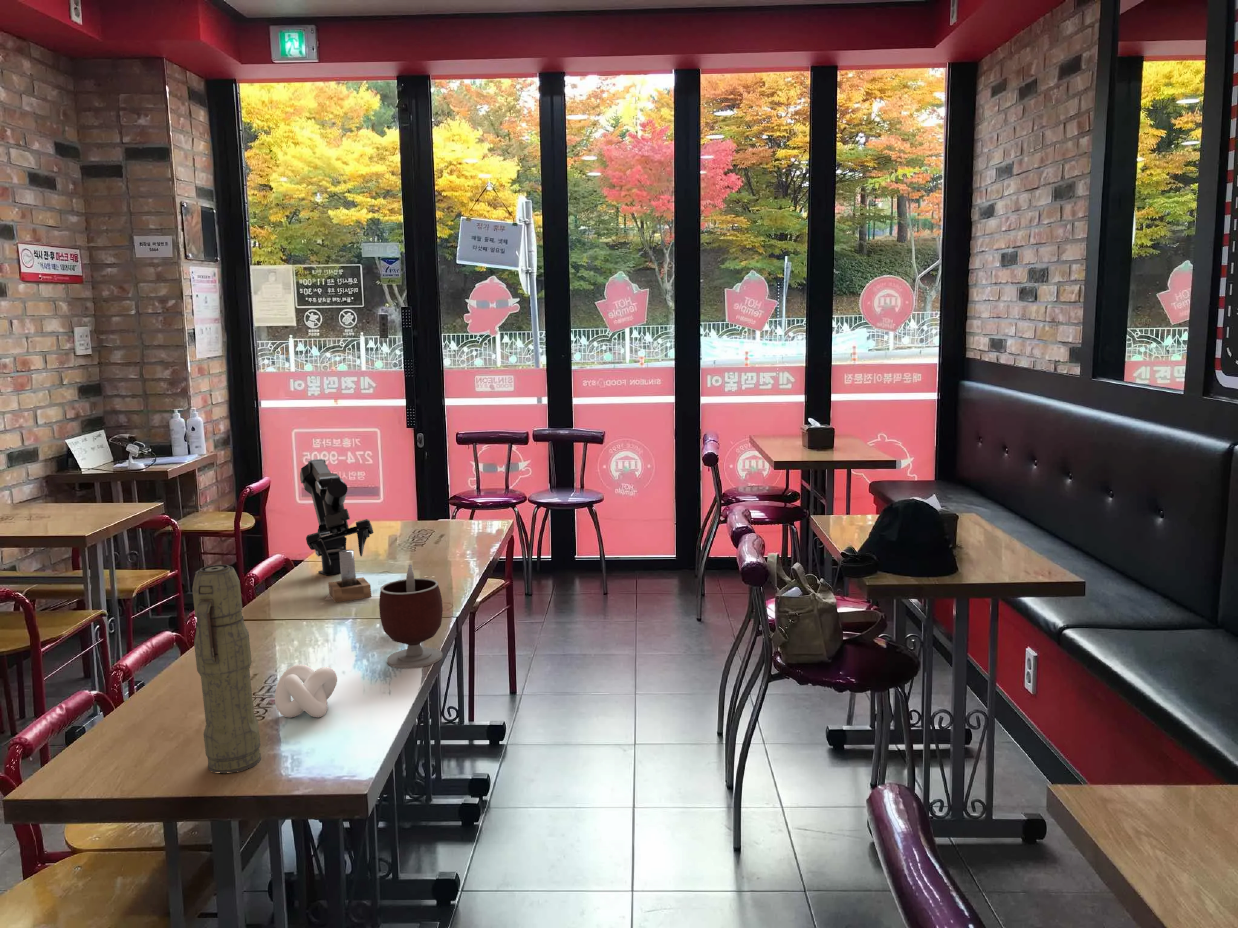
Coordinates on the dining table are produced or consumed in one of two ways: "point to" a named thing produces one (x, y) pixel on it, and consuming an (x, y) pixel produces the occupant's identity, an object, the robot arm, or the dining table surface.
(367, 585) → the socket block
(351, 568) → the pin
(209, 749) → the thermos
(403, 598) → the mate gourd
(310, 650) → the dining table surface
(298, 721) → the dining table surface
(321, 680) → the white knot
